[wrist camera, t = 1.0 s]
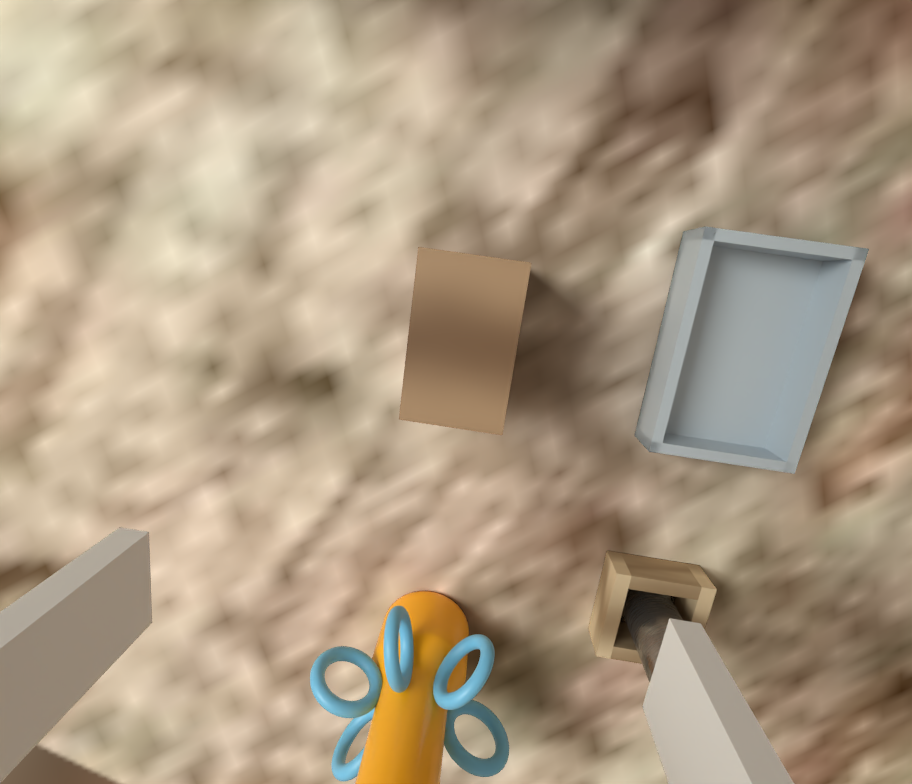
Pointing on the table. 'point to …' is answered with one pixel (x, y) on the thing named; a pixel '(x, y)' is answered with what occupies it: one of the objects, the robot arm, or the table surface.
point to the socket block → (649, 577)
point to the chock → (463, 339)
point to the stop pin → (648, 623)
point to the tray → (746, 346)
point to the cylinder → (413, 696)
